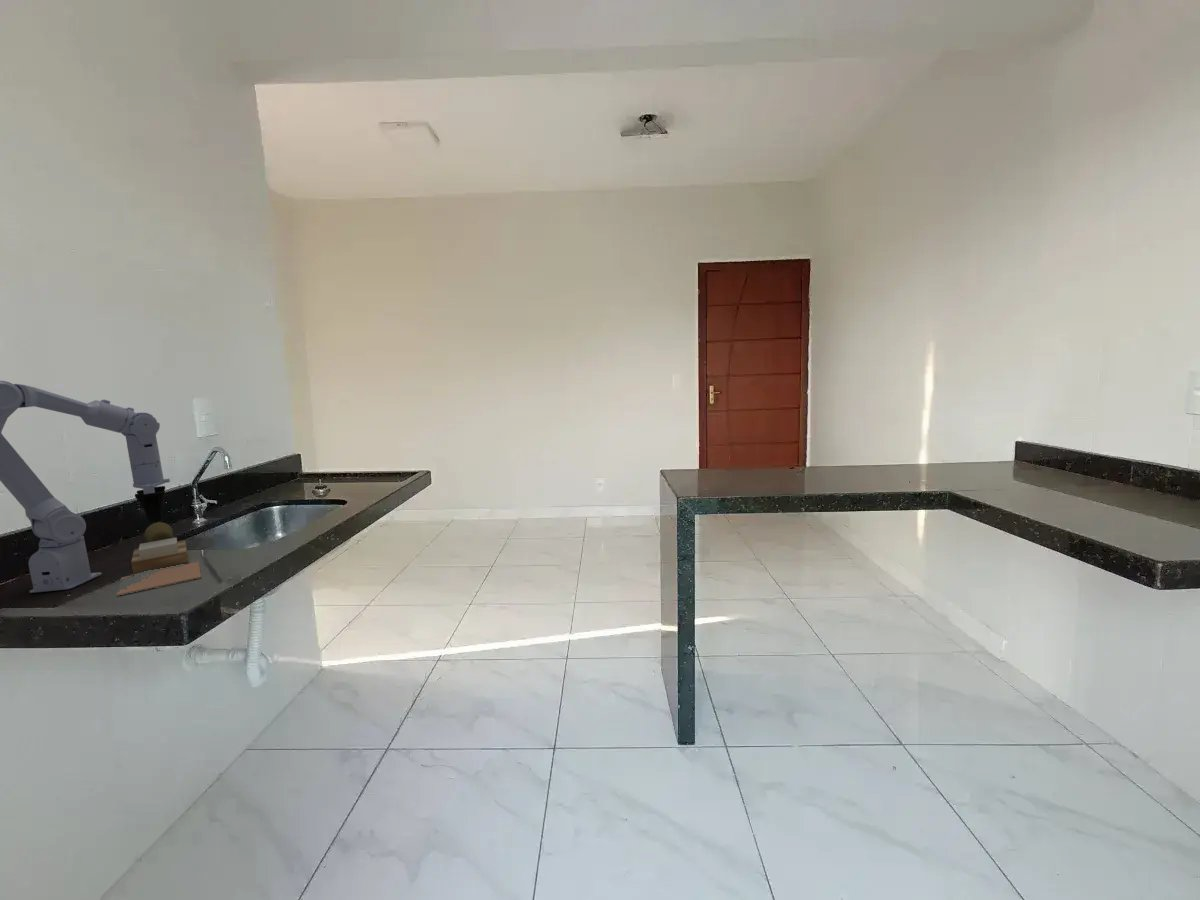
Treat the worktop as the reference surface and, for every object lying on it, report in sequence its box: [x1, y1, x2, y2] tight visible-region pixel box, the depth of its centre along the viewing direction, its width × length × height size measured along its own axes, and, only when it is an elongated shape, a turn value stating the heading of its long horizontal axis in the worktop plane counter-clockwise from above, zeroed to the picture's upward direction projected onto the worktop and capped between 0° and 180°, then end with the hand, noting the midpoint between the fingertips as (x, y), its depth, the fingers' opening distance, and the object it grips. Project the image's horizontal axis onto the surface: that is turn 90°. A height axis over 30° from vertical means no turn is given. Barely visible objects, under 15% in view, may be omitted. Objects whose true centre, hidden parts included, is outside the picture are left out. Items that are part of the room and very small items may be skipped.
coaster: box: [138, 537, 178, 559], centre depth 138 cm, size 7×7×2 cm
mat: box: [116, 561, 202, 596], centre depth 127 cm, size 14×14×1 cm
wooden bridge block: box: [130, 539, 189, 575], centre depth 139 cm, size 14×10×3 cm
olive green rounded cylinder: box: [143, 521, 176, 543], centre depth 152 cm, size 6×6×11 cm
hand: (155, 519), depth 143 cm, fingers open, 5 cm apart
